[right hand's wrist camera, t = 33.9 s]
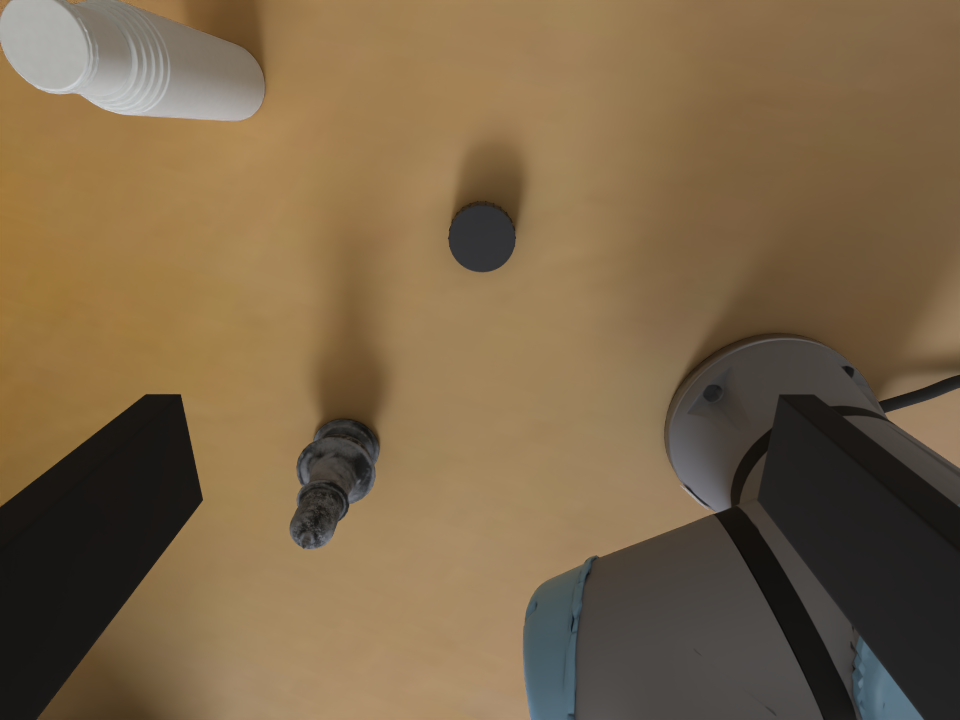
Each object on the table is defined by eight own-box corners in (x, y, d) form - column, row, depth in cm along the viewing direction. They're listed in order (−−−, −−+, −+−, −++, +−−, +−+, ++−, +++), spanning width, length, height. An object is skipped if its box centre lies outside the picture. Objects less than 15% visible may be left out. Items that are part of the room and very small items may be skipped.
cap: (495, 277, 41) (496, 284, 39) (438, 247, 41) (436, 253, 38) (525, 220, 40) (528, 224, 38) (467, 188, 39) (466, 191, 37)
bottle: (217, 132, 38) (32, 130, 22) (178, 60, 36) (-50, 4, 21) (278, 103, 37) (132, 80, 21) (241, 29, 36) (54, -54, 20)
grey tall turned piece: (295, 452, 46) (237, 553, 35) (336, 402, 45) (288, 490, 34) (355, 491, 48) (317, 600, 37) (397, 443, 46) (370, 542, 35)
